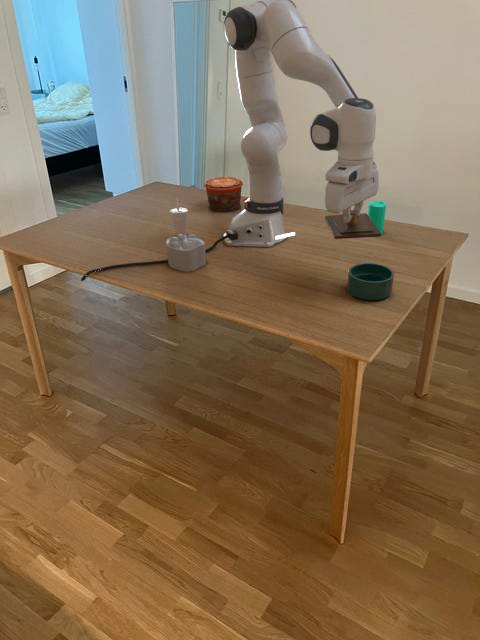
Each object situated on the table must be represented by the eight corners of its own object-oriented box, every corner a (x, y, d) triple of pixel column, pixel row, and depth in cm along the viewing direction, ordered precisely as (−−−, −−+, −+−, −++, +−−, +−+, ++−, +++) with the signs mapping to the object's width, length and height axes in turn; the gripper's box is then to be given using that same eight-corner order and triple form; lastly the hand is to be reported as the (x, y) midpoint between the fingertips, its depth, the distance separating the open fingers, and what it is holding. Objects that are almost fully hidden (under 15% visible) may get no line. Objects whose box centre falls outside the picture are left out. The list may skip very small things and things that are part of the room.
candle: (381, 229, 180) (385, 196, 174) (384, 235, 175) (388, 202, 169) (364, 229, 180) (368, 196, 174) (366, 235, 175) (370, 202, 169)
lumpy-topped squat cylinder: (186, 273, 154) (184, 247, 150) (160, 262, 162) (156, 238, 157) (210, 262, 161) (208, 237, 156) (183, 252, 168) (181, 228, 164)
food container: (213, 216, 198) (212, 189, 193) (200, 204, 211) (198, 179, 205) (249, 209, 204) (249, 183, 198) (234, 198, 216) (233, 174, 211)
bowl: (352, 302, 135) (354, 283, 132) (343, 282, 145) (344, 264, 142) (396, 300, 135) (399, 281, 132) (384, 280, 145) (386, 262, 142)
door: (334, 239, 128) (335, 223, 126) (324, 218, 142) (325, 203, 139) (381, 236, 128) (382, 220, 125) (366, 215, 141) (367, 200, 139)
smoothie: (169, 237, 180) (165, 200, 173) (178, 231, 185) (174, 194, 178) (185, 239, 178) (181, 201, 171) (193, 233, 183) (189, 196, 176)
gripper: (365, 157, 135) (362, 207, 142) (321, 175, 122) (319, 228, 130) (386, 160, 131) (382, 211, 138) (342, 178, 119) (340, 233, 126)
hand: (351, 219), depth 134 cm, fingers closed on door, 2 cm apart
